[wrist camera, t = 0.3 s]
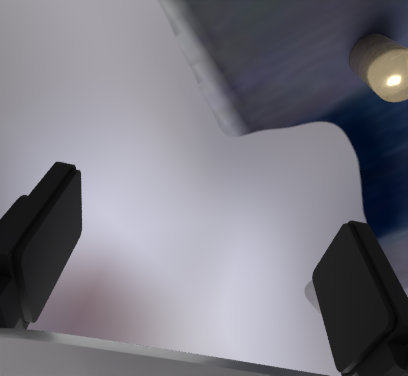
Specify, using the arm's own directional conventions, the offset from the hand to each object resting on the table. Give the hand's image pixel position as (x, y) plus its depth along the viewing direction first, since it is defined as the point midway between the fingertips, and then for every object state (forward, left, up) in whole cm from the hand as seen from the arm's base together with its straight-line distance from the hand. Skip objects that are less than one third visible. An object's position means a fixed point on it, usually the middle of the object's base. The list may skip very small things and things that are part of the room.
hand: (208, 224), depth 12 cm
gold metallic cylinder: (-5, +16, -30) cm, 34 cm away
